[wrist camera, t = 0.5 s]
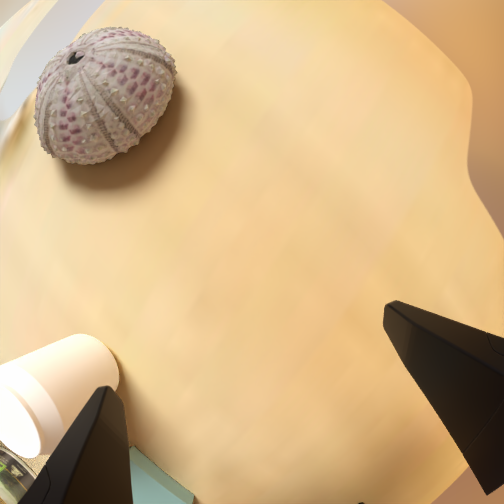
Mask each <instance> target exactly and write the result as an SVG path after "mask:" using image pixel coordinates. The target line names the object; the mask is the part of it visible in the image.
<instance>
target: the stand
mask: <svg viewBox="0 0 504 504" xmlns="http://www.w3.org/2000/svg"><path fill="white" fill-rule="evenodd" d="M129 453H130V470H131V484H132V495H133V504H193V499H194V494H192V493H191V492H190V491H188V490H187V489H185V488H184V487H183V486H181V485H180V484H179V483H177V482H176V481H175V480H174V479H172V478H171V477H170V476H169V475H167V474H166V473H165V472H164V471H162V470H161V469H160V468H159V467H157V466H156V465H155V464H154V463H153V462H152V461H150V460H149V459H148V458H147V457H146V456H145V455H143V454H142V453H141V452H140V451H139V450H138V449H137V448H136V447H135V446H132V447H131V448H129Z"/></svg>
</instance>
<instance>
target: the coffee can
mask: <svg viewBox="0 0 504 504" xmlns="http://www.w3.org/2000/svg"><path fill="white" fill-rule="evenodd" d="M36 477H37V476H36V474H35V473H34V472H33V471H32V470H31V469H30V468H29V467H28V466H27V465H26V464H25V463H24V462H23V461H22V460H21V459H20V458H19V457H17V456H16V455H15V454H13V453H12V452H11V451H9V450H7V449H5V448H3V447H0V504H17V503H18V502H19V500H20V499H21V498H22V497H23V495H24V494H25V493H26V491H27V490H28V489H29V487H30V486H31V485H32V483H33V482H34V480H35V479H36Z"/></svg>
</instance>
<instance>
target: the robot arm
mask: <svg viewBox="0 0 504 504" xmlns="http://www.w3.org/2000/svg"><path fill="white" fill-rule="evenodd" d="M383 327H384V330H385V331H386V333H387V335H388V337H389V339H390V340H391V342H392V344H393V346H394V348H395V349H396V351H397V353H398V355H399V357H400V359H401V360H402V362H403V364H404V365H405V367H406V369H407V370H408V371H409V373H410V374H411V376H412V377H413V379H414V380H415V382H416V383H417V385H418V386H419V387H420V389H421V390H422V392H423V393H424V395H425V396H426V398H427V399H428V401H429V402H430V404H431V405H432V407H433V408H434V410H435V411H436V413H437V414H438V416H439V418H440V419H441V421H442V422H443V424H444V425H445V427H446V428H447V430H448V432H449V433H450V435H451V436H452V438H453V440H454V441H455V443H456V444H457V446H458V448H459V449H460V451H461V453H463V456H464V458H465V459H466V461H467V463H468V464H469V466H470V468H471V470H472V471H473V473H474V474H475V476H476V478H477V480H478V481H479V483H480V485H481V487H482V489H483V490H484V492H485V493H486V495H489V494H490V493H491V492H493V491H495V490H496V489H497V488H499V487H500V486H502V485H503V484H504V338H502V337H499V336H496V335H493V334H490V333H488V332H487V333H486V332H485V331H482V330H479V329H476V328H473V327H471V326H468V325H465V324H462V323H459V322H457V321H454V320H451V319H448V318H445V317H443V316H440V315H437V314H434V313H431V312H429V311H426V310H423V309H420V308H417V307H414V306H412V305H409V304H406V303H403V302H400V301H397V300H395V301H392V302H390V303H388V304H386V305H385V307H384V318H383ZM17 504H133V495H132V484H131V470H130V453H129V442H128V435H127V428H126V420H125V412H124V405H123V402H122V400H121V399H120V398H119V396H118V395H117V394H116V393H115V391H114V390H113V389H112V387H110V386H109V385H106V386H100V387H98V388H97V389H96V390H95V391H94V393H93V394H92V395H91V397H90V398H89V400H88V401H87V403H86V404H85V405H84V407H83V408H82V410H81V411H80V413H79V414H78V416H77V417H76V418H75V420H74V421H73V423H72V424H71V426H70V427H69V429H68V430H67V432H66V433H65V435H64V436H63V438H62V439H61V441H60V442H59V444H58V445H57V447H56V448H55V450H54V451H53V453H52V454H51V456H50V457H49V459H48V460H47V462H46V465H44V466H43V468H42V470H41V471H40V473H39V474H38V476H37V477H36V479H35V480H34V482H33V483H32V485H31V486H30V487H29V489H28V490H27V491H26V493H25V494H24V495H23V497H22V498H21V499H20V500H19V502H18V503H17ZM359 504H364V503H359Z"/></svg>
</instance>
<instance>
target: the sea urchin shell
mask: <svg viewBox="0 0 504 504" xmlns="http://www.w3.org/2000/svg"><path fill="white" fill-rule="evenodd" d="M165 50H166V48H165V47H163V46H162V45H160V44H159V40H156V39H152V38H151V37H150V36H147V35H145V34H142V33H141V32H140V31H134V30H129V29H128V28H122V27H119V28H114V27H106V28H101V29H96V30H94V31H91V32H89V33H87V34H83V35H82V36H80V37H79V39H77V40H76V41H75V42H73V43H72V44H70V45H69V46H67V47H66V48H64V49H63V50H61V51H59V52H58V53H57V55H56V56H54V57H53V58H52V59H51V60H50V61H49V62H48V64H47V65H46V67H45V69H44V71H43V73H42V75H41V76H40V77H39V78H40V80H39V81H38V82H37V84H38V87H37V95H36V105H35V115H34V118H35V120H36V122H35V124H34V125H35V126H36V127H37V129H38V130H37V133H38V134H39V136H40V137H39V140H41V147H43V148H44V151H47V154H51V155H52V157H53V158H55V157H59V158H63V159H65V161H66V162H68V163H69V162H71V164H74V163H77V164H79V165H80V164H83V165H86V164H92V165H94V164H95V163H96V162H97V163H100V162H105V161H106V159H110V160H111V159H112V158H113V157H114V155H115V154H117V153H120V152H125V153H127V151H128V149H129V148H130V147H131V146H134V145H138V144H139V141H140V138H141V137H142V136H143V135H144V134H145V133H147V132H150V131H151V127H153V126H155V125H156V124H157V121H158V118H159V117H160V116H162V115H163V112H164V111H166V107H167V106H168V104H167V103H168V102H169V101H170V100H171V94H172V93H173V92H172V88H173V87H174V84H173V81H174V80H175V77H174V76H175V74H176V73H177V71H176V70H175V67H176V66H175V65H174V62H175V60H174V59H173V58H172V57H171V54H169V53H167V52H165Z"/></svg>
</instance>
